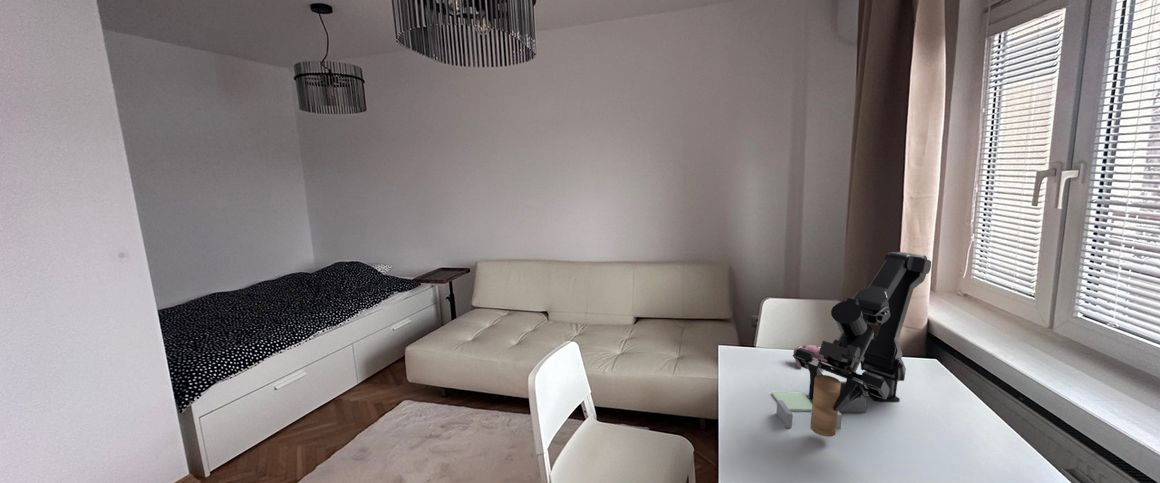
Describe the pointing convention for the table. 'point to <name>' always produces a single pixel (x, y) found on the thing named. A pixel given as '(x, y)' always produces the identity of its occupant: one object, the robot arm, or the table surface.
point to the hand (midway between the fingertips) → (822, 404)
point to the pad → (794, 400)
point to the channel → (787, 415)
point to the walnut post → (825, 405)
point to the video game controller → (812, 349)
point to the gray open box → (853, 403)
